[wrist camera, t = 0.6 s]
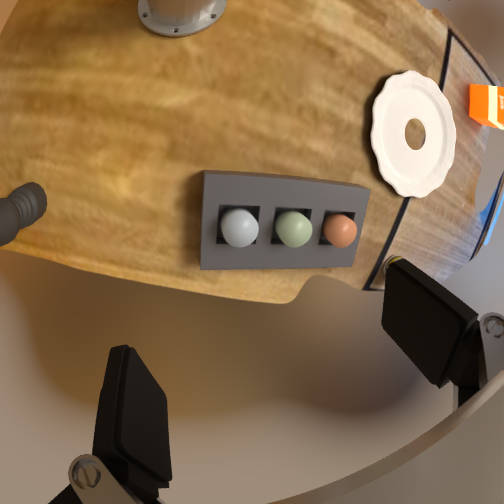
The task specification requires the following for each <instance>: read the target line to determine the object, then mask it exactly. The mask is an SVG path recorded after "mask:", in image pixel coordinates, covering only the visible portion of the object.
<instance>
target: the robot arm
mask: <svg viewBox="0 0 504 504" xmlns="http://www.w3.org/2000/svg"><path fill="white" fill-rule="evenodd" d="M226 3H227V0H139V1H138V7H137V9H138V15H139V17H140V19H141V21H142V23H143V24H144V25H145V26H146V27H147V28H148V29H149V30H151V31H153V32H155V33H157V34H160V35H164V36H170V37H180V36H188V35H192V34H196V33H198V32H201V31H203V30H205V29H207V28H209V27H210V26H211V25H213V24H214V23H215V22H216V21H217V20H218V19H219V18H220V17H221V15H222V14H223V12H224V10H225V7H226ZM145 16H147V17H145ZM144 17H145V18H144ZM211 17H214V19H212V18H211ZM174 31H178V32H177V33H174ZM477 317H478V314H477V313H476V312H475V311H474V310H473V309H471V308H470V307H469V306H468V305H466V304H465V303H464V302H463V301H461V300H460V299H459V298H458V297H456V296H455V295H453V294H452V293H451V292H450V291H448V290H447V289H446V288H445V287H443V286H442V285H441V284H439V283H438V282H437V281H435V280H434V279H432V278H431V277H430V276H428V275H427V274H426V273H424V272H423V271H421V270H420V269H419V268H417V267H416V266H414V265H413V264H412V263H410V262H409V261H407V260H406V259H404V258H402V259H399V260H397V261H394V262H392V263H390V264H389V267H388V269H387V270H386V280H385V292H384V303H383V312H382V320H381V321H382V322H381V323H382V326H383V329H384V330H385V331H386V332H387V334H388V335H389V336H390V337H391V338H392V339H393V340H394V341H395V342H396V344H397V345H398V346H399V347H400V348H401V349H402V350H403V352H404V353H405V354H406V355H407V356H408V357H409V358H410V359H411V361H412V362H413V363H414V364H415V365H416V366H417V368H418V369H419V370H420V371H421V372H422V373H423V374H424V376H425V377H426V378H427V379H428V380H429V382H430V383H431V384H434V385H435V384H436V385H437V387H438V388H439V389H440V388H441V387H443V386H444V385H446V384H447V383H448V382H449V381H450V380H451V382H452V383H453V413H452V414H450V415H449V416H448V417H447V418H445V419H444V420H443V421H441V422H440V423H439V424H437V425H436V426H434V427H433V428H432V429H430V430H429V431H427V432H426V433H424V434H423V435H421V436H420V437H418V438H417V439H415V440H414V441H412V442H411V443H409V444H407V445H406V446H404V447H403V448H401V449H399V450H397V451H396V452H394V453H392V454H390V455H389V456H387V457H385V458H383V459H381V460H379V461H378V462H376V463H374V464H372V465H370V466H368V467H366V468H364V469H362V470H360V471H357V472H355V473H353V474H351V475H349V476H346V477H344V478H342V479H340V480H337V481H335V482H332V483H330V484H327V485H325V486H322V487H320V488H317V489H314V490H311V491H308V492H305V493H302V494H300V495H296V496H293V497H290V498H286V499H283V500H279V501H276V502H272V503H268V504H504V316H503V315H501V314H498V313H493V312H492V313H487V314H485V315H483V316H482V317H481V320H480V322H479V321H478V320H477ZM68 476H69V481H70V484H69V485H68V486H67V487H66V488H65V489H64V490H63V491H62V492H61V493H59V494H58V495H57V496H56V497H55V498H54V499H53V500H52V501H51V502H50V503H48V504H166V503H165V502H164V501H162V500H161V499H160V498H159V492H158V488H169V481H171V480H172V469H171V458H170V446H169V432H168V412H167V398H166V395H165V393H164V391H163V390H162V389H161V387H160V386H159V384H158V383H157V382H156V380H155V379H154V378H153V376H152V374H151V373H150V372H149V370H148V369H147V367H146V366H145V364H144V363H143V361H142V360H141V358H140V356H139V355H138V353H137V352H136V350H135V349H134V348H133V347H132V348H130V347H129V346H128V345H121V346H116V347H112V348H111V350H110V353H109V358H108V362H107V367H106V372H105V377H104V382H103V387H102V389H101V392H100V398H99V404H98V411H97V417H96V424H95V432H94V440H93V450H92V455H90V454H84V455H80V456H78V457H77V458H75V459H74V460H73V461H72V463H71V465H70V467H69V471H68Z"/></svg>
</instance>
